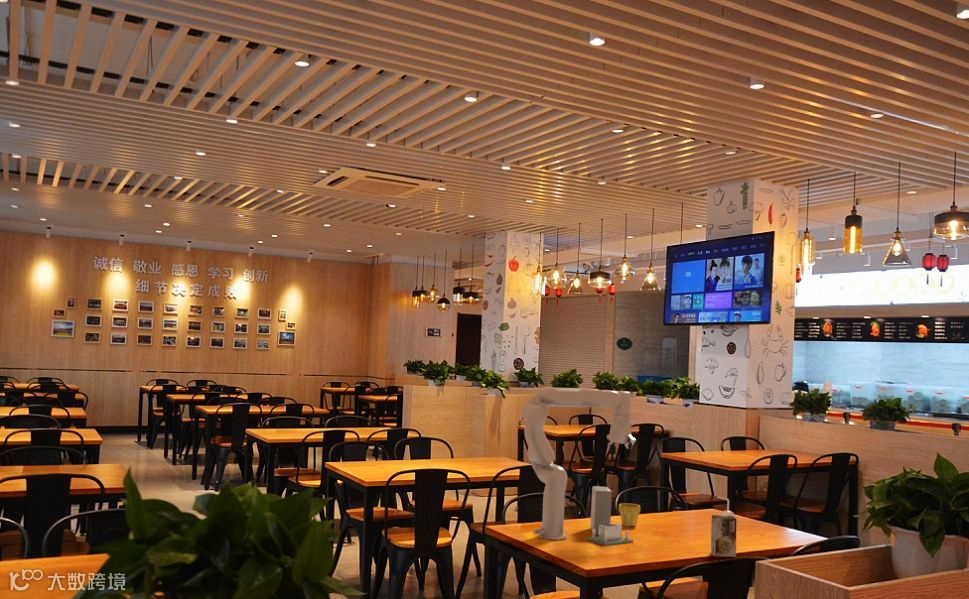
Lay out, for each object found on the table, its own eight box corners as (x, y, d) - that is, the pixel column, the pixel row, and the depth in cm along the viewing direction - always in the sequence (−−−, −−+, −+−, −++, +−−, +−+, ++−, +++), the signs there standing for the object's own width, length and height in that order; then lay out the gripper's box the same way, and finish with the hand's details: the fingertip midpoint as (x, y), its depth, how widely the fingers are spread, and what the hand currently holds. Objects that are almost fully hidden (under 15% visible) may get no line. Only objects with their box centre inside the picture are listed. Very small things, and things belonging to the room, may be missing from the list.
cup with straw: (733, 544, 384) (734, 499, 386) (713, 540, 389) (715, 496, 390) (738, 541, 391) (740, 497, 393) (719, 538, 396) (720, 494, 398)
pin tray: (604, 545, 367) (605, 534, 367) (587, 540, 376) (587, 528, 376) (632, 542, 377) (633, 530, 377) (615, 537, 386) (615, 526, 386)
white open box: (604, 540, 372) (605, 526, 373) (598, 538, 376) (598, 524, 376) (621, 539, 378) (622, 525, 378) (615, 537, 381) (615, 523, 381)
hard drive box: (610, 536, 388) (612, 491, 389) (593, 535, 388) (595, 490, 390) (606, 529, 404) (607, 486, 405) (589, 528, 404) (591, 485, 405)
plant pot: (613, 524, 417) (614, 503, 417) (628, 522, 423) (629, 502, 423) (629, 528, 408) (629, 507, 409) (644, 526, 414) (644, 506, 415)
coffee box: (731, 553, 364) (732, 515, 366) (736, 557, 358) (737, 518, 359) (710, 552, 364) (711, 514, 365) (714, 556, 358) (715, 517, 359)
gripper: (602, 416, 397) (600, 453, 396) (629, 419, 383) (627, 458, 382) (614, 416, 401) (612, 453, 400) (641, 419, 387) (639, 457, 386)
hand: (620, 455), depth 391 cm, fingers open, 9 cm apart
